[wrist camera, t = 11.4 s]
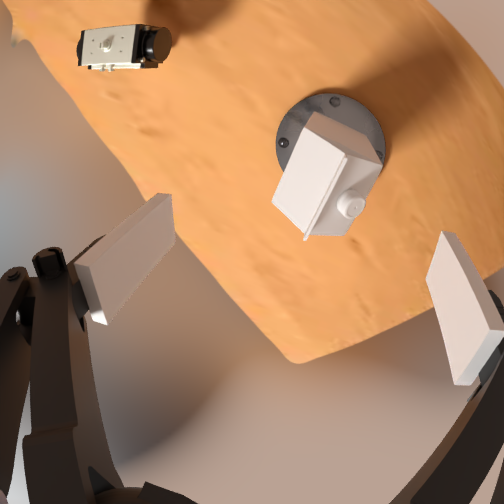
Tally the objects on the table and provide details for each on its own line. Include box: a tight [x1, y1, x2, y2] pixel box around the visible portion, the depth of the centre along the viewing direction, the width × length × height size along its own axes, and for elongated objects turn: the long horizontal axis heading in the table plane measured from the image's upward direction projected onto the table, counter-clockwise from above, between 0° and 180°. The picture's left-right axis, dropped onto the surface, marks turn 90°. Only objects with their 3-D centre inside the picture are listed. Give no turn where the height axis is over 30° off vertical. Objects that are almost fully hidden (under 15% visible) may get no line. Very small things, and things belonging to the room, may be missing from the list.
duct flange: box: [276, 93, 386, 172], centre depth 39 cm, size 14×14×1 cm
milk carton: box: [272, 111, 383, 241], centre depth 30 cm, size 7×7×19 cm
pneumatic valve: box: [77, 24, 172, 71], centre depth 32 cm, size 6×12×12 cm, turn 81°
